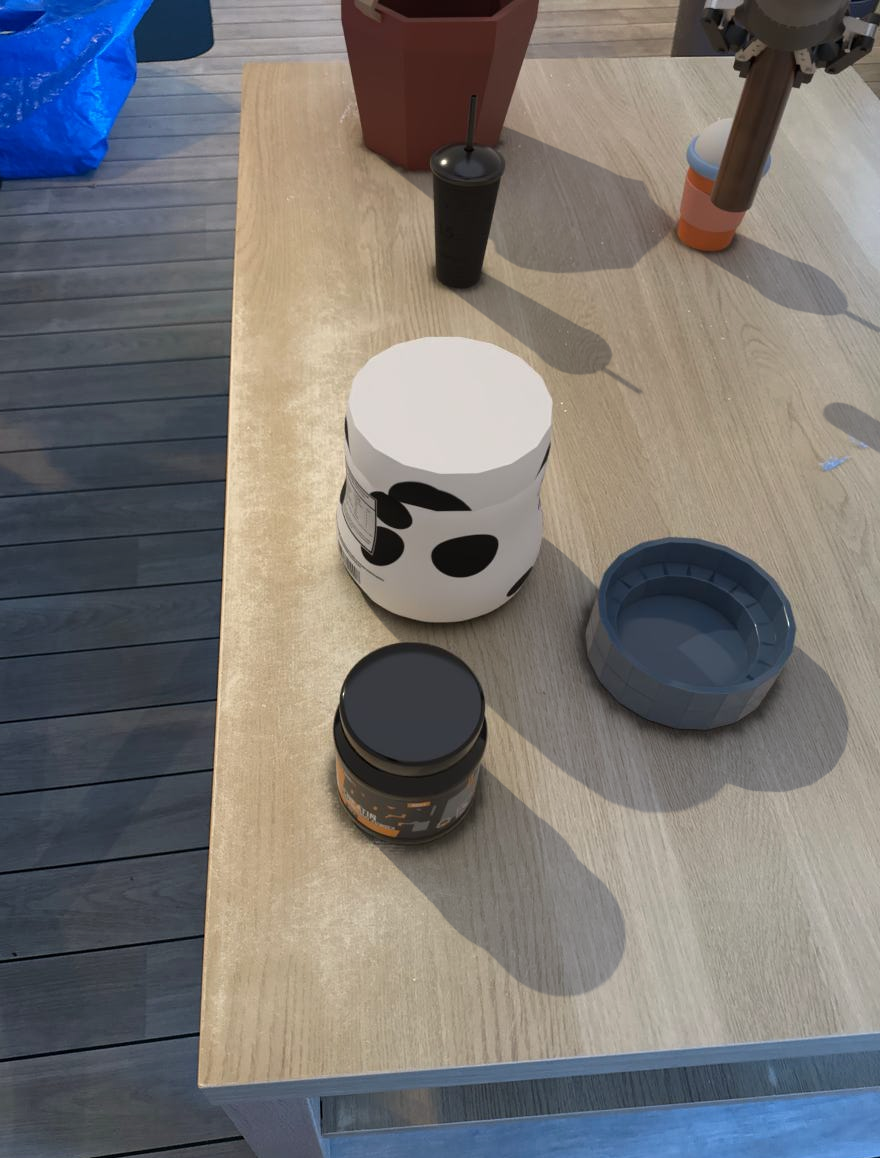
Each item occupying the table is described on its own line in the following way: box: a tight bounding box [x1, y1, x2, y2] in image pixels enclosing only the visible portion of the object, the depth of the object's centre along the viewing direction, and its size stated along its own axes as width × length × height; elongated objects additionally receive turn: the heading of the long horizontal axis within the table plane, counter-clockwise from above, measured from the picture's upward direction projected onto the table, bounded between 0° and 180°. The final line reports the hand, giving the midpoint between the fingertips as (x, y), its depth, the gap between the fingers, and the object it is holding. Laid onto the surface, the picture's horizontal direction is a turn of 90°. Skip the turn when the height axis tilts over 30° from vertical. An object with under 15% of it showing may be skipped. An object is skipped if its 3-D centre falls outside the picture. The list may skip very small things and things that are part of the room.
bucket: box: [340, 0, 540, 172], centre depth 117 cm, size 24×22×25 cm
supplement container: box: [332, 641, 489, 845], centre depth 69 cm, size 10×10×12 cm
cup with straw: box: [677, 117, 772, 252], centre depth 109 cm, size 9×9×18 cm
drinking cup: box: [430, 94, 507, 290], centre depth 103 cm, size 8×8×20 cm
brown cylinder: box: [710, 47, 800, 213], centre depth 89 cm, size 4×4×15 cm
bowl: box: [584, 536, 797, 731], centre depth 79 cm, size 15×15×6 cm
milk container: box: [335, 336, 554, 624], centre depth 80 cm, size 17×17×18 cm
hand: (772, 71), depth 87 cm, fingers closed on brown cylinder, 4 cm apart
